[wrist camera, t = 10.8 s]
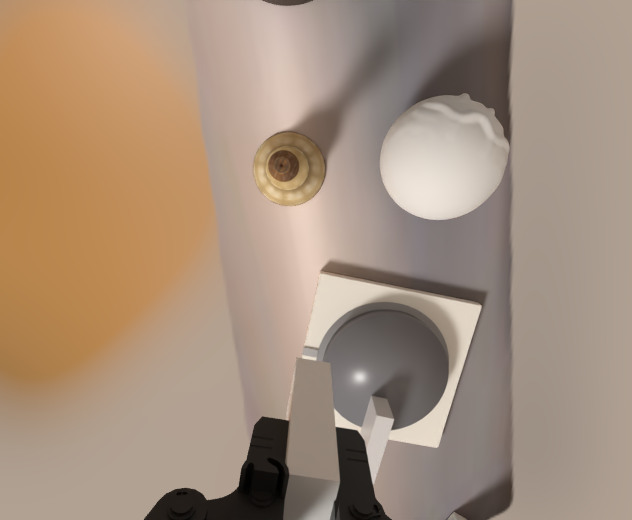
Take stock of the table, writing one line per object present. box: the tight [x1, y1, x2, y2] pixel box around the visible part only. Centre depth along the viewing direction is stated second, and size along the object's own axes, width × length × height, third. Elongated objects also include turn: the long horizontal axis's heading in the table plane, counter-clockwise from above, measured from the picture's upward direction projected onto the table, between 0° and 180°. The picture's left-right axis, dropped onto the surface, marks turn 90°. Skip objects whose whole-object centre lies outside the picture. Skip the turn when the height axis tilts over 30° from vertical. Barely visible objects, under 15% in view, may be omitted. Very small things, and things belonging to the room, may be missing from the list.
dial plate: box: [301, 271, 482, 448], centre depth 49 cm, size 20×20×2 cm
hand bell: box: [253, 132, 325, 206], centre depth 37 cm, size 8×8×16 cm
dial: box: [323, 309, 449, 485], centre depth 45 cm, size 20×15×6 cm
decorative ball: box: [380, 93, 510, 220], centre depth 39 cm, size 12×12×12 cm
